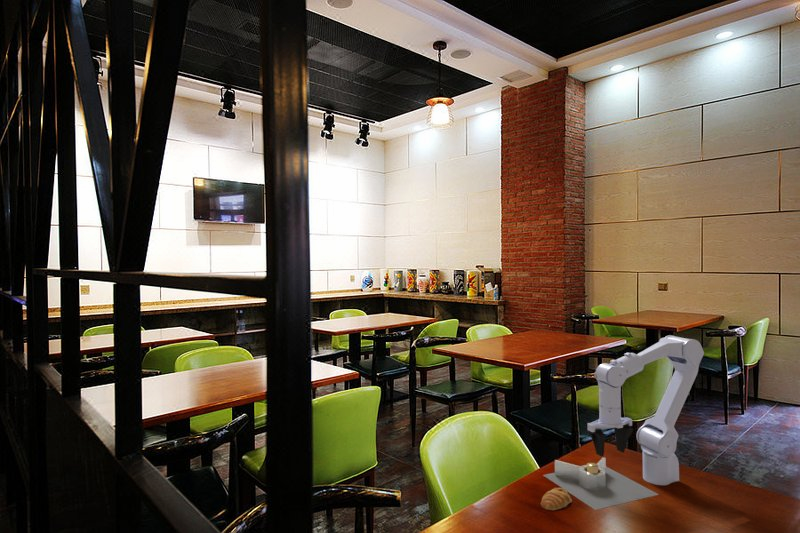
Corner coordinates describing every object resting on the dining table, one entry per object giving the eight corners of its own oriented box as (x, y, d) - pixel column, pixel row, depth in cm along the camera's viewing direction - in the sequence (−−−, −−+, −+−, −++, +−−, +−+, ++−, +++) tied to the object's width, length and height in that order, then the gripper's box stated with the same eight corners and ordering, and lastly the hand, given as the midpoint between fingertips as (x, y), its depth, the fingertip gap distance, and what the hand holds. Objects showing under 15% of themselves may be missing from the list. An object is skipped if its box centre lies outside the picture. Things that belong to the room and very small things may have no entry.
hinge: (595, 466, 149) (594, 452, 149) (628, 484, 137) (627, 469, 137) (554, 474, 144) (553, 460, 144) (584, 494, 132) (584, 478, 132)
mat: (600, 466, 152) (600, 463, 152) (658, 498, 131) (658, 494, 131) (542, 478, 144) (542, 475, 144) (595, 513, 124) (595, 509, 124)
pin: (592, 482, 139) (592, 462, 139) (600, 486, 136) (600, 466, 136) (584, 484, 138) (584, 463, 138) (592, 488, 135) (592, 467, 135)
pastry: (557, 518, 122) (557, 503, 122) (533, 509, 127) (533, 495, 127) (573, 504, 129) (573, 490, 129) (550, 496, 134) (550, 483, 134)
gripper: (600, 413, 130) (600, 462, 130) (640, 407, 135) (641, 454, 135) (582, 405, 137) (582, 452, 137) (621, 400, 142) (621, 445, 142)
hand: (610, 453), depth 137 cm, fingers open, 7 cm apart
